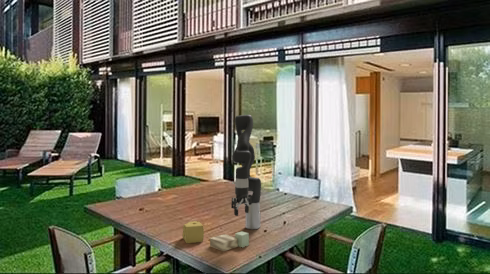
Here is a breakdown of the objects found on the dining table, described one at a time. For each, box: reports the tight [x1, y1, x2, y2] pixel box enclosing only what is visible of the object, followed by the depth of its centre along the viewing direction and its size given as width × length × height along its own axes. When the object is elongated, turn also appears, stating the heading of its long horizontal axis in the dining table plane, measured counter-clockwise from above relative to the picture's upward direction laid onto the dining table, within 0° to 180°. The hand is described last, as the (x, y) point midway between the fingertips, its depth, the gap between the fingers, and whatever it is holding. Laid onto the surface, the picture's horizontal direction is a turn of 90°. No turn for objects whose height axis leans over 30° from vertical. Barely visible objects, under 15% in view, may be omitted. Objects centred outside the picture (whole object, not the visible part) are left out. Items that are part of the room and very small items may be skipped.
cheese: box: [182, 220, 205, 244], centre depth 229 cm, size 10×11×10 cm
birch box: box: [209, 233, 238, 252], centre depth 219 cm, size 11×11×5 cm
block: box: [234, 231, 250, 248], centre depth 221 cm, size 6×6×7 cm
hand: (241, 214), depth 219 cm, fingers open, 8 cm apart
